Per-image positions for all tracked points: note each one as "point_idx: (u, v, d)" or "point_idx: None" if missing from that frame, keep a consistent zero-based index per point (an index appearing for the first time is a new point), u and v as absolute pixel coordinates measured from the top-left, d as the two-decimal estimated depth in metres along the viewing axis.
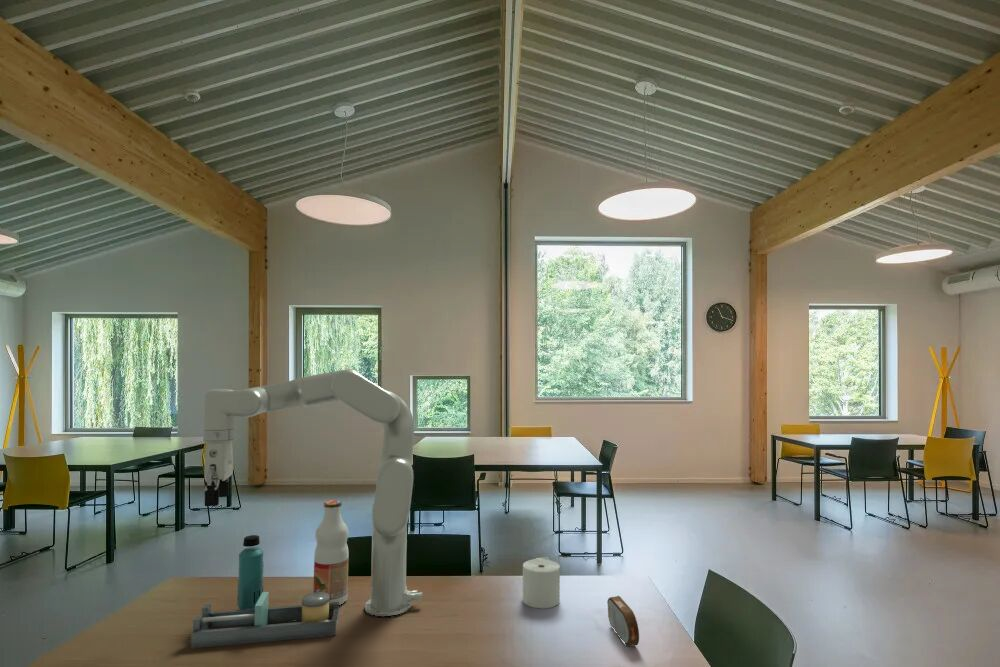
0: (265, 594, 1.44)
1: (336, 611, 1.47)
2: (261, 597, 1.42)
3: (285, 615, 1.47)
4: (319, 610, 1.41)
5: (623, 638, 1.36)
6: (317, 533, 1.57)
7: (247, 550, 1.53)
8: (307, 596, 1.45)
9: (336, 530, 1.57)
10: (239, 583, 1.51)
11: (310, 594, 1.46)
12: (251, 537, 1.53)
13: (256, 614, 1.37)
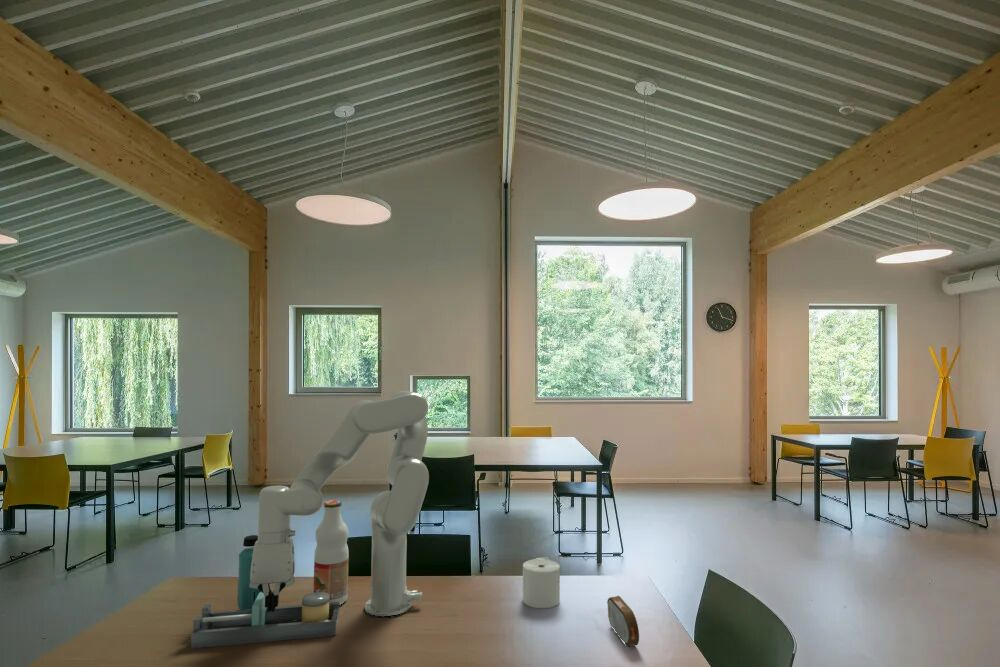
0: (262, 594, 1.44)
1: (336, 611, 1.47)
2: (258, 597, 1.42)
3: (285, 615, 1.47)
4: (319, 609, 1.41)
5: (623, 638, 1.36)
6: (317, 533, 1.57)
7: (247, 550, 1.53)
8: (308, 595, 1.45)
9: (336, 530, 1.57)
10: (239, 583, 1.51)
11: (310, 594, 1.46)
12: (251, 537, 1.53)
13: (253, 614, 1.37)
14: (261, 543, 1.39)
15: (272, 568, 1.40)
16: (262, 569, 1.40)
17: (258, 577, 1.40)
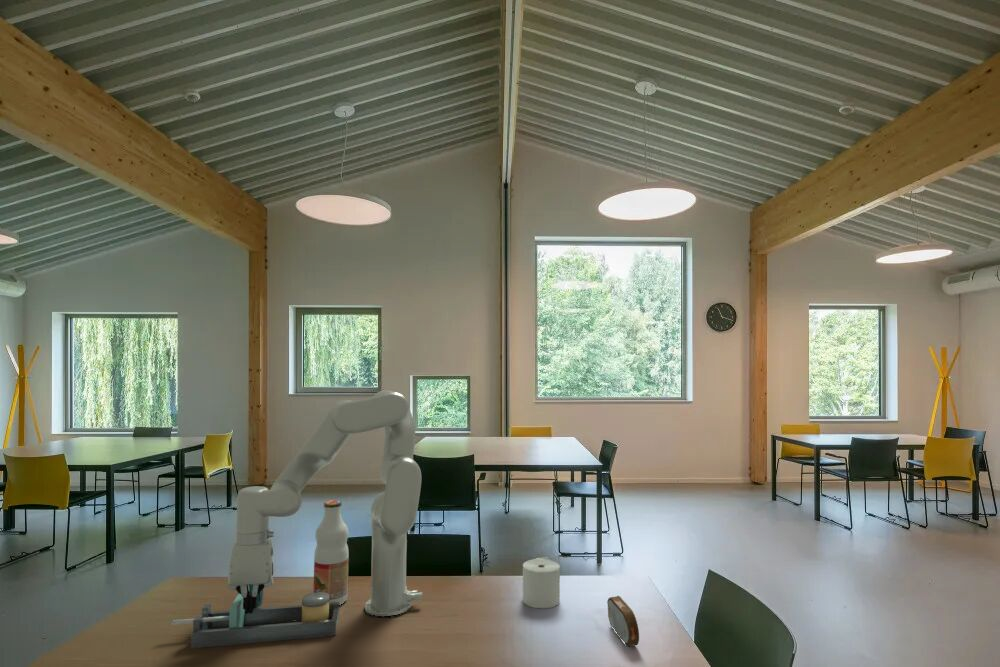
0: (241, 596, 1.43)
1: (336, 611, 1.47)
2: (237, 599, 1.41)
3: (285, 615, 1.47)
4: (319, 610, 1.41)
5: (623, 638, 1.36)
6: (317, 533, 1.57)
7: None
8: (307, 596, 1.45)
9: (336, 530, 1.57)
10: None
11: (310, 594, 1.46)
12: None
13: (231, 616, 1.36)
14: (238, 544, 1.38)
15: (250, 569, 1.39)
16: (240, 570, 1.39)
17: (236, 579, 1.38)
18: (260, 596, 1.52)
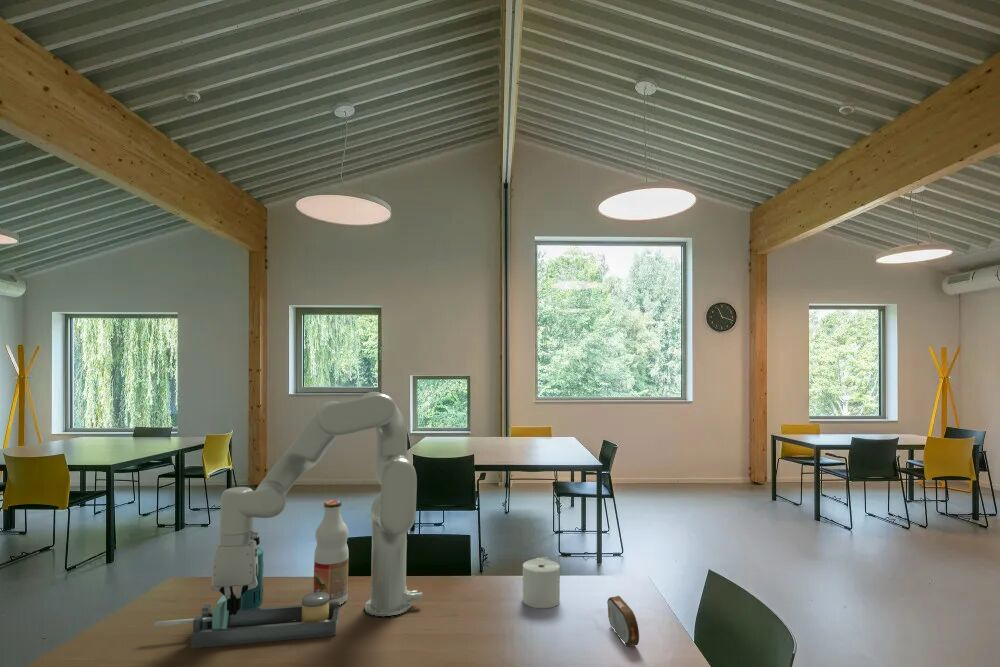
0: None
1: (336, 611, 1.47)
2: (220, 600, 1.40)
3: (285, 615, 1.47)
4: (319, 609, 1.41)
5: (623, 638, 1.36)
6: (317, 533, 1.57)
7: None
8: (307, 595, 1.45)
9: (336, 530, 1.57)
10: None
11: (310, 594, 1.46)
12: None
13: (214, 617, 1.35)
14: (222, 546, 1.38)
15: (234, 571, 1.38)
16: (223, 572, 1.38)
17: (219, 580, 1.38)
18: (260, 596, 1.52)
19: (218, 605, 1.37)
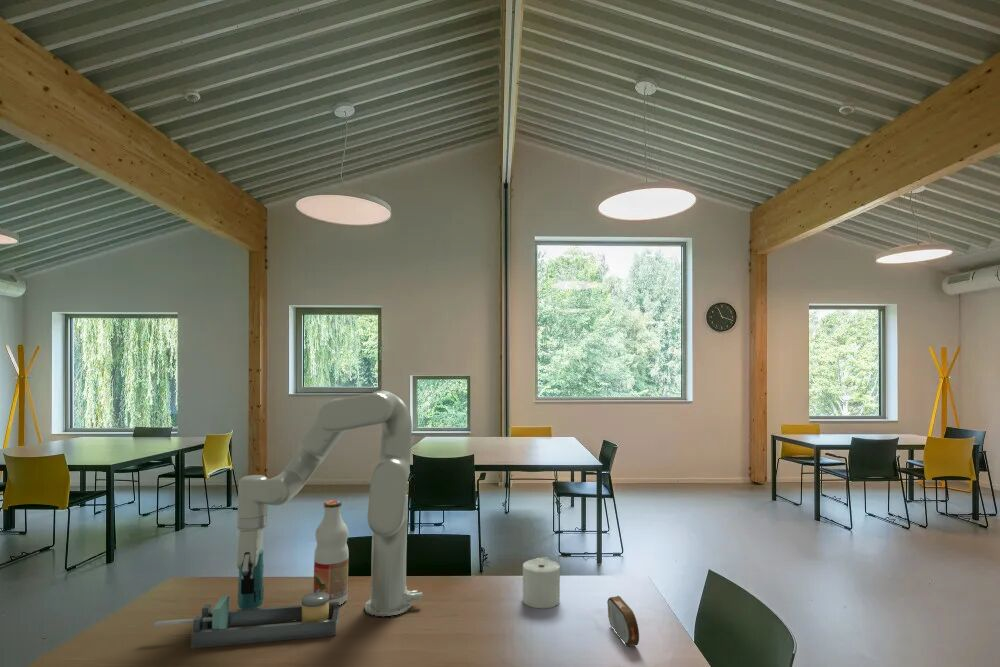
0: (225, 597, 1.42)
1: (336, 611, 1.47)
2: (220, 600, 1.40)
3: (285, 615, 1.47)
4: (319, 609, 1.41)
5: (623, 638, 1.36)
6: (317, 533, 1.57)
7: None
8: (307, 595, 1.45)
9: (336, 530, 1.57)
10: (239, 582, 1.51)
11: (311, 594, 1.46)
12: None
13: (214, 617, 1.35)
14: (261, 527, 1.52)
15: (261, 547, 1.54)
16: (259, 551, 1.52)
17: (257, 559, 1.51)
18: (260, 595, 1.53)
19: (218, 605, 1.37)
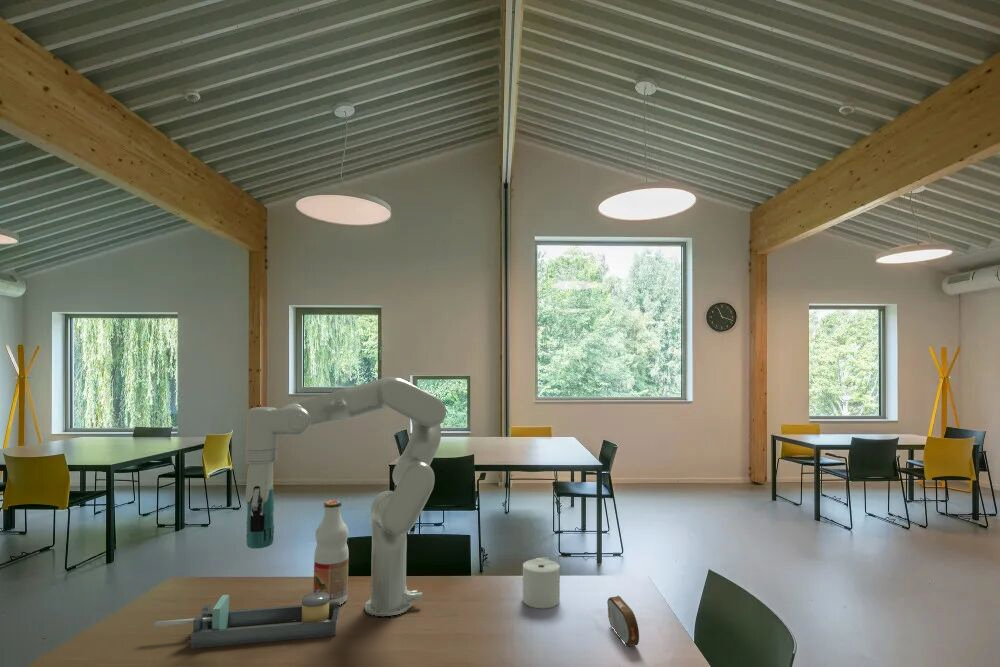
0: (225, 597, 1.42)
1: (336, 611, 1.47)
2: (220, 600, 1.40)
3: (285, 615, 1.47)
4: (319, 609, 1.41)
5: (623, 638, 1.36)
6: (317, 533, 1.57)
7: None
8: (308, 595, 1.45)
9: (336, 530, 1.57)
10: (248, 520, 1.41)
11: (311, 594, 1.46)
12: None
13: (214, 617, 1.35)
14: (271, 460, 1.41)
15: (271, 484, 1.44)
16: (269, 486, 1.41)
17: (267, 495, 1.40)
18: (271, 534, 1.42)
19: (218, 605, 1.37)
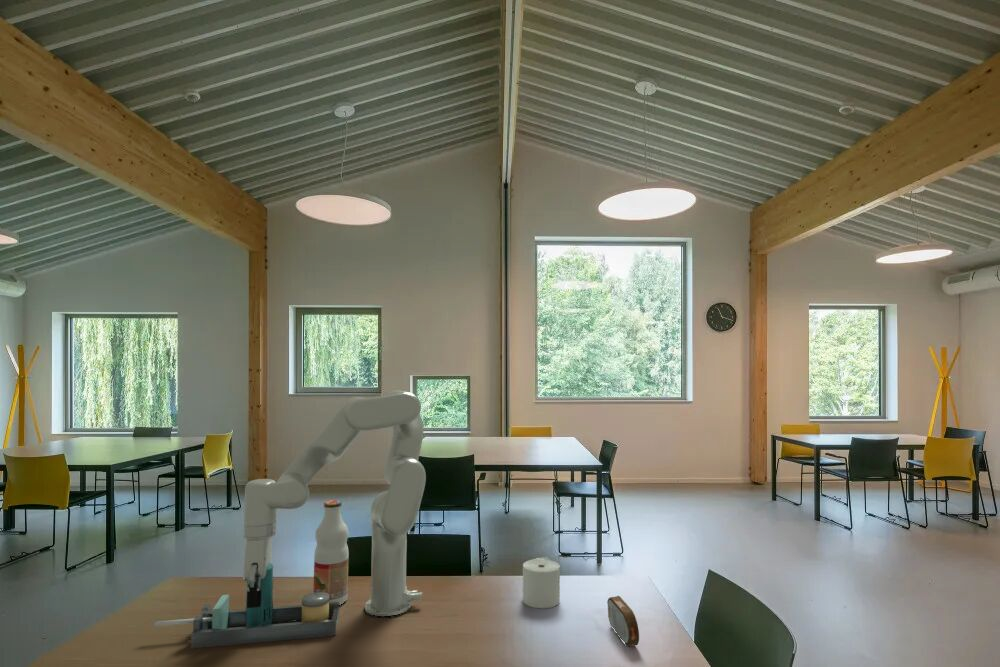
0: (225, 597, 1.42)
1: (336, 611, 1.47)
2: (220, 600, 1.40)
3: (285, 615, 1.47)
4: (318, 610, 1.41)
5: (623, 638, 1.36)
6: (317, 533, 1.57)
7: None
8: (308, 595, 1.45)
9: (336, 530, 1.57)
10: None
11: (311, 594, 1.46)
12: None
13: (214, 617, 1.35)
14: (269, 535, 1.40)
15: (269, 557, 1.43)
16: (267, 561, 1.40)
17: (265, 570, 1.39)
18: (270, 613, 1.42)
19: (218, 605, 1.37)
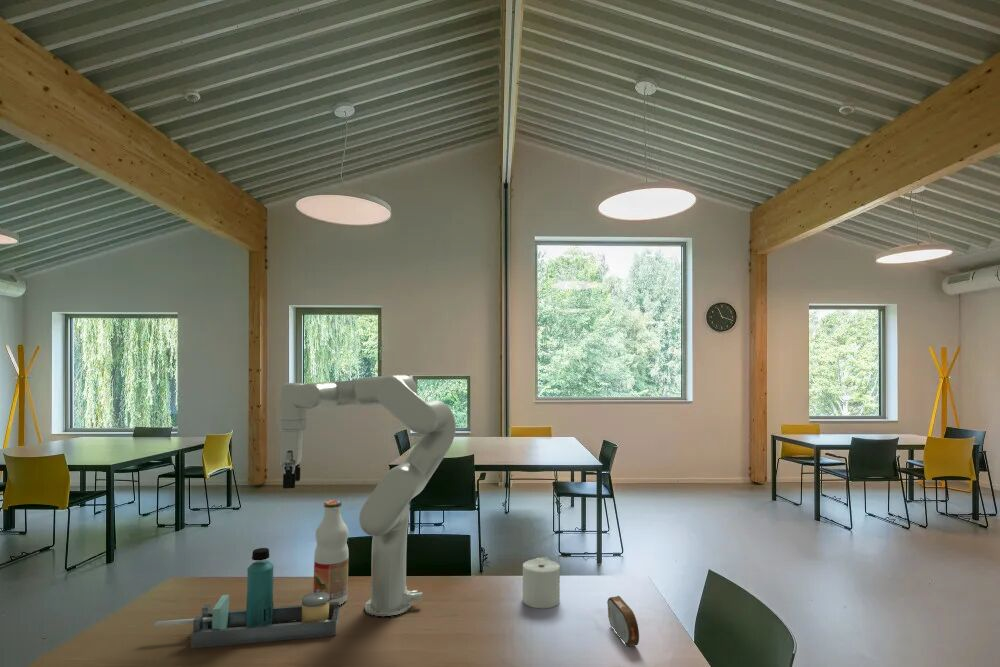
0: (225, 597, 1.42)
1: (336, 611, 1.47)
2: (220, 600, 1.40)
3: (285, 615, 1.47)
4: (318, 610, 1.41)
5: (623, 638, 1.36)
6: (317, 533, 1.57)
7: (256, 564, 1.42)
8: (308, 595, 1.45)
9: (336, 530, 1.57)
10: (248, 600, 1.40)
11: (311, 593, 1.46)
12: (260, 550, 1.43)
13: (214, 617, 1.35)
14: (302, 429, 1.62)
15: (301, 449, 1.64)
16: (300, 451, 1.62)
17: (298, 459, 1.61)
18: (270, 613, 1.42)
19: (218, 605, 1.37)
